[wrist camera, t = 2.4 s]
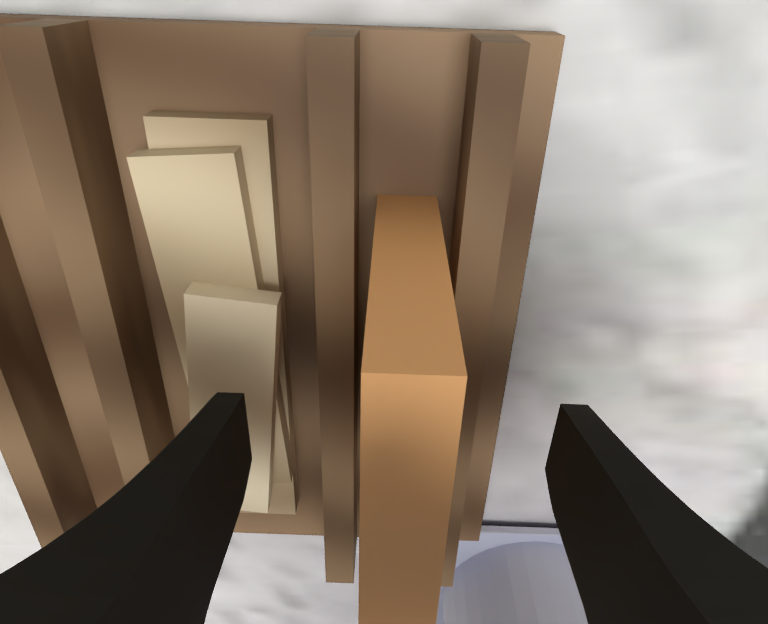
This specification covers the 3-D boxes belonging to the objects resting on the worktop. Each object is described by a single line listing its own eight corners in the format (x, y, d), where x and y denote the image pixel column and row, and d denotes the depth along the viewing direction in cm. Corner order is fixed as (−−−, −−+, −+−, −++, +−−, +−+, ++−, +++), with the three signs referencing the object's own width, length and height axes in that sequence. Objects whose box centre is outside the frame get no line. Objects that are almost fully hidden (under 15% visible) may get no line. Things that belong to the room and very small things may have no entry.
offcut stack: (304, 499, 22) (295, 547, 20) (211, 496, 22) (194, 543, 20) (280, 114, 15) (263, 135, 13) (142, 109, 15) (105, 129, 13)
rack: (475, 520, 24) (485, 588, 21) (84, 506, 24) (46, 571, 21) (555, 31, 14) (589, 45, 12) (-86, 10, 14) (-192, 19, 12)
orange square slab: (419, 422, 20) (430, 667, 13) (372, 421, 20) (357, 664, 13) (437, 196, 16) (467, 376, 9) (377, 194, 16) (360, 373, 9)
